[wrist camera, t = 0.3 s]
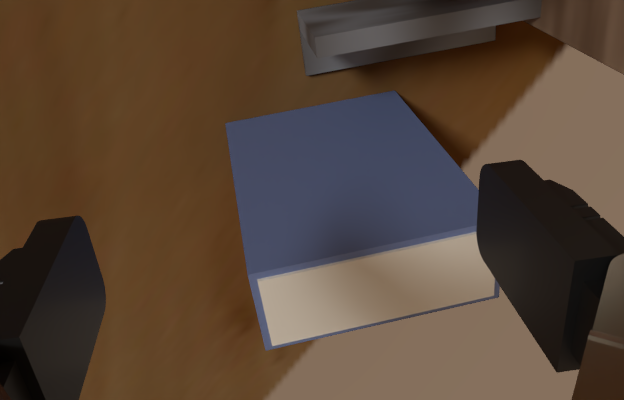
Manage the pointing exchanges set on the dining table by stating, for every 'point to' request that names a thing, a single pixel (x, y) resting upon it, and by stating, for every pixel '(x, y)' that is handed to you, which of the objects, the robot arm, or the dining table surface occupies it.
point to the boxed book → (352, 219)
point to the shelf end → (450, 28)
